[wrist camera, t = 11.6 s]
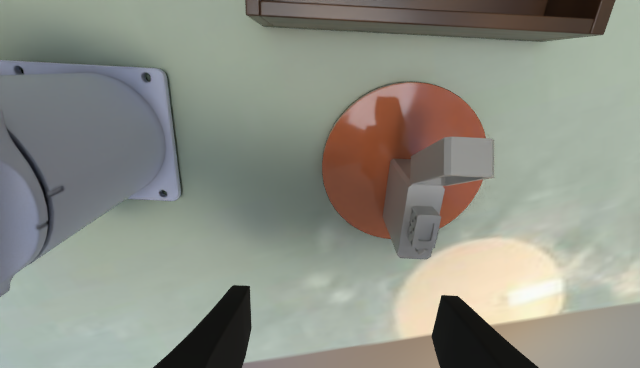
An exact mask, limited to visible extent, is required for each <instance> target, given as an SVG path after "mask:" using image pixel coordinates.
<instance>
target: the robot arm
mask: <svg viewBox="0 0 640 368" xmlns="http://www.w3.org/2000/svg"><path fill="white" fill-rule="evenodd" d="M20 68H22V69H23V71H24V74H23V73H22V72H21V70H20ZM146 73H148V74H149V75H150V77H151V80H150V82H148V81H147V80H146V78H145V74H146ZM162 190H165V191H166V192H167V195H164V194H163V193H162ZM180 196H181V187H180V178H179V170H178V162H177V154H176V146H175V138H174V130H173V122H172V114H171V105H170V97H169V89H168V81H167V76H166V74H165V72H164V71H163V70H161V69H158V68H144V67H125V66H106V65H88V64H69V63H50V62H31V61H12V60H0V297H1V296H2V295H4V294H5V293H6V292H8V291H9V289H10V282H11V280H12V278H13V276H14V275H15V274H16V273H17V272H19V271H20V270H21V269H23V268H24V267H26V266H27V265H29V264H31V263H32V262H34V261H35V260H37V259H38V258H40V257H41V256H43V255H44V254H46V253H47V252H48V251H50V250H51V249H53V248H54V247H56V246H57V245H59V244H60V243H62V242H63V241H65V240H66V239H68V238H69V237H71V236H72V235H74V234H75V233H77V232H78V231H80V230H81V229H83V228H84V227H85V226H87V225H88V224H90V223H91V222H93V221H94V220H96V219H97V218H99V217H100V216H102V215H103V214H105V213H106V212H108V211H109V210H111V209H112V208H114V207H115V206H117V205H118V204H120V203H121V202H123V201H124V200H125V199H142V200H162V201H175V200H177V199H178V198H179V197H180ZM250 332H251V307H250V286H237V285H233V286H232V287H231V288H230V289H229V290H228V291H227V293H226V294H225V295H224V296H223V297H222V299H221V300H220V301H219V302H218V303H217V304H216V306H215V307H214V308H213V309H212V310H211V311H210V312H209V314H208V315H207V316H206V317H205V318H204V319H203V320H202V321H201V322H200V323H199V324H198V325H197V326H196V328H195V329H194V330H193V331H192V332H191V333H190V334H189V335H188V336H187V337H186V338H185V339H184V340H183V341H182V342H181V343H179V344H178V345H177V346H176V347H175V348H174V349H173V350H172V351H171V352H170V353H169V354H168V355H167V356H166V357H165V358H164V359H162V360H161V361H160V362H159V363H158V364H157V365H156V366H154V367H153V368H242V365H243V362H244V359H245V356H246V351H247V347H248V342H249V337H250ZM432 339H433V344H434V347H435V351H436V355H437V358H438V362H439V365H440V368H538V367H537V366H536V365H535V364H534V363H532V362H531V361H530V360H529V359H528V358H526V357H525V356H524V355H523V354H522V353H520V352H519V351H518V350H517V349H516V348H515V347H513V346H512V345H511V344H510V343H509V342H507V340H505V339H504V338H503V337H502V336H501V335H500V334H499V333H497V332H496V331H495V330H494V329H493V328H492V327H491V326H490V325H489V324H488V323H487V322H486V321H485V320H483V319H482V318H481V317H480V316H479V315H478V314H477V313H476V312H475V311H474V310H473V309H472V308H471V307H469V306H468V305H467V304H466V303H465V302H464V301H463V300H462V299H461V298H459V297H458V296H445V295H442V296H441V300H440V304H439V308H438V312H437V317H436V321H435V325H434V329H433V333H432Z"/></svg>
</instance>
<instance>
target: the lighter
mask: <svg viewBox="0 0 640 368" xmlns="http://www.w3.org/2000/svg"><path fill="white" fill-rule="evenodd" d="M489 178H494V140H493V139H490V138H470V137H444V138H443V139H441V140H439V141H437V142H435V143H434V144H432V145H430V146H428V147H426V148H425V149H423V150H421V151H419V152H418V153H416V154H414V155H412V156H411V159H392V160H391V161H390V167H389V174H388V182H387V189H386V196H385V203H384V211H383V219H384V222H385V224H386V227H387V230H388V232H389V235H390V237H391V240H392V242H393V245H394V248H395V250H396V253H397V255H398V256H399V257H400V258H409V259H428V258H429V257H431V253H432V248H435V244H436V239H437V235H438V230H439V225H440V221H441V216H440V210H441V206H442V201H443V196H444V191H445V189H444V187H443V186H450V185H455V184H461V183H467V182H472V181H478V180H484V179H489Z"/></svg>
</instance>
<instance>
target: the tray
mask: <svg viewBox="0 0 640 368" xmlns="http://www.w3.org/2000/svg"><path fill="white" fill-rule="evenodd" d="M245 1H246V15H247V16H249V17H250V18H252V19H253V20H255V21H256V22H258V23H259V24H261V25H262V26H265V27H284V28H302V29H321V30H339V31H357V32H376V33H394V34H413V35H431V36H449V37H468V38H486V39H505V40H523V41H541V42H543V41H552V40H561V39H570V38H579V37H588V36H597V35H603V34H604V32H605V29H606V26H607V23H608V20H609V17H610V14H611V12H612V9H613V6H614V3H615V0H245Z"/></svg>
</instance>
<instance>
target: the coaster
mask: <svg viewBox="0 0 640 368" xmlns="http://www.w3.org/2000/svg"><path fill="white" fill-rule="evenodd" d="M444 137H470V138H486V136H485V132H484V129H483V127H482V125H481V122H480V120H479V119H478V117H477V115H476V114H475V112H474V111H473V110H472V109H471V107H470V106H469V105H468V104H467V103H466V102H465V101H464V100H462V99H461V98H460V97H459V96H457V95H456V94H454V93H452V92H451V91H449V90H446V89H444V88H442V87H439V86H436V85H432V84H428V83H421V82H400V83H393V84H389V85H386V86H382V87H379V88H377V89H375V90H372V91H370V92H368V93H367V94H365V95H363V96H362V97H360V98H359V99H357V100H356V101H355V102H354V103H352V104H351V105H350V106H349V107H348V108H347V109H346V110H345V111H344V112H343V113H342V114H341V116H340V117H339V118H338V120H337V121H336V122H335V124H334V126H333V128H332V129H331V131H330V133H329V136H328V138H327V141H326V144H325V148H324V152H323V160H322V175H323V182H324V186H325V189H326V193H327V195H328V197H329V199H330V202H331V203H332V205H333V206H334V208H335V209H336V211H337V212H338V213H339V214H340V215H341V217H342V218H344V219H345V220H346V221H347V222H348V223H349V224H351V225H352V226H354V227H355V228H357V229H359V230H361V231H363V232H365V233H367V234H370V235H373V236H376V237H381V238H387V239H391V237H390V235H389V232H388V230H387V227H386V224H385V222H384V219H383V211H384V203H385V196H386V189H387V182H388V174H389V167H390V161H391V160H392V159H411V156H412V155H414V154H416V153H418V152H419V151H421V150H423V149H425V148H426V147H428V146H430V145H432V144H434V143H435V142H437V141H439V140H441V139H443V138H444ZM482 181H483V180H478V181H472V182H467V183H461V184H455V185H450V186H443V187H444V189H445V191H444V196H443V201H442V206H441V210H440V216H441V221H440V225H439V229H440V228H442V227H443V226H445V225H446V224H448V223H450V222H451V221H452V220H453V219H455V218H456V217H457V216H458V215H459V214H460V213H462V212H463V211H464V210H465V209H466V207H467V206H468V205H469V204H470V202H471V201H472V200H473V198H474V197H475V195H476V193H477V192H478V190H479V188H480V185H481V183H482Z"/></svg>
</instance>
